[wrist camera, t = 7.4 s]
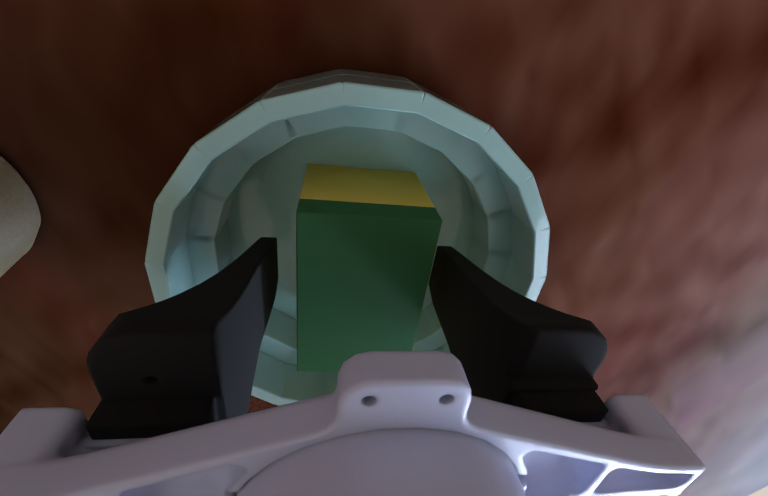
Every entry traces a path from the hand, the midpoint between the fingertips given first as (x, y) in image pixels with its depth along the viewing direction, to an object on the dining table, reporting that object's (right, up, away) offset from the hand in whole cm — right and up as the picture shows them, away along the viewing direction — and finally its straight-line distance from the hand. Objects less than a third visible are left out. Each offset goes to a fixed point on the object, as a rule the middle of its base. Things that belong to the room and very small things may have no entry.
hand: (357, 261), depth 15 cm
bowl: (0, +1, +2) cm, 2 cm away
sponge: (0, +1, +1) cm, 2 cm away
